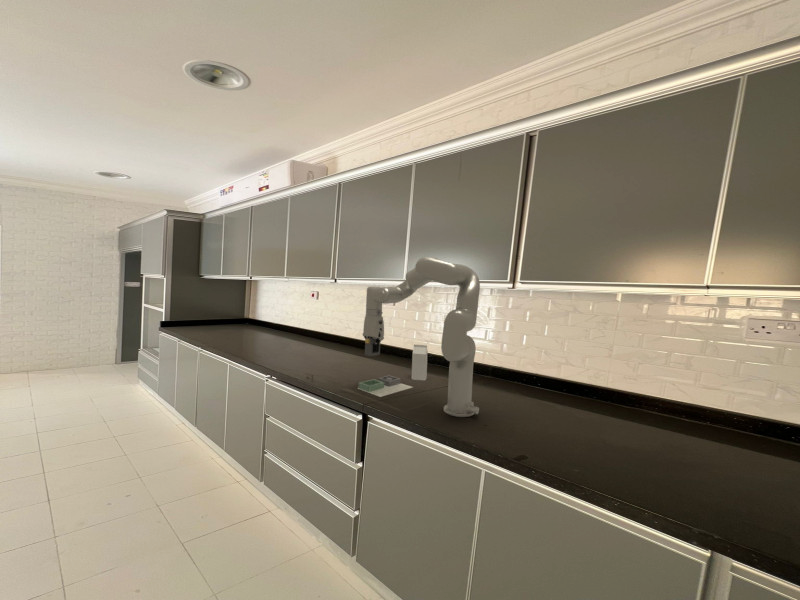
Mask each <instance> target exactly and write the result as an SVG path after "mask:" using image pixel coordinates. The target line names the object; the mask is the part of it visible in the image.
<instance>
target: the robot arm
mask: <svg viewBox="0 0 800 600" xmlns="http://www.w3.org/2000/svg"><path fill="white" fill-rule="evenodd" d="M432 281H433V282H436V283H440V284H443V285H446V286H458V287H459V290H458V292H457V297H456V304H455V308H454V309H453V310H451V311H449V312H448V313H447V314H446V316H445V318H444V322H443V328H442V338H441V354H442V356H443V358H444V359H445V360H446V361H448V362H449V365H448V366H449V367H448V368H449V369H448V384H447V385H448V387H447V404H444V406H443V412H444V413H445V414H447V415H449V416H452V417H457V418H467V417H472V416H474V415H478V414H479V412H480V407H478V406H474V402H475V401H472V397H473V396H472V395H473V377H474V376H473V375H474V363H475V356H476V342H475V340H474V339H473V338H472V337H471V336H470V335H468V332H470V331H472V330H474V328H475V327H476V324H477V317H478V307H479V300H480V299H479V297H480V290H481V285H480V284H481V282H480V278H479V276H478V274H477V273H476V272H475V271H474V270H473V269H472V268H470V267H469V266H466V265H463V264H458V263H450V262H447V261H443V260H441V259H439V258H437V257H432V256H431V257H430V256H424V257H421V258H419V259H418V260H417V262H416V263H415V266H414V268H412V269H411V270H409V271H407V272H406V274H405V280H404V281H403V282H402V283H400V284H398V285H396V286H382V287H381V286H368V287H367V288H366V298H365V299H366V300H365V304H366V305H365V316H364V322H363V332H362V333H361V334H362V336H363V338H364V339H365V338H370V337H373V338H374V344H373V353H376V352H379V344H380V345H381V342H382V341H383V340H385V323H384V317H383V304H385V305H386V304H398V303H401V302H402V301H404V300H406V299H408V298H409V297H411V296H412V295H414V293H415V292H416V291H417V290H418V289H420V288H422V287H423V286H425V285H427V284H428V283H430V282H432ZM376 339H377V341H376Z"/></svg>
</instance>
